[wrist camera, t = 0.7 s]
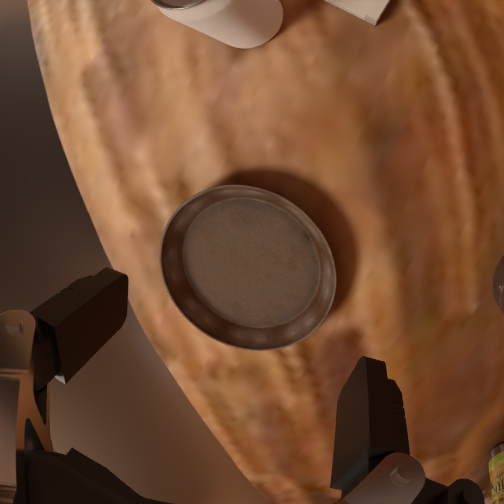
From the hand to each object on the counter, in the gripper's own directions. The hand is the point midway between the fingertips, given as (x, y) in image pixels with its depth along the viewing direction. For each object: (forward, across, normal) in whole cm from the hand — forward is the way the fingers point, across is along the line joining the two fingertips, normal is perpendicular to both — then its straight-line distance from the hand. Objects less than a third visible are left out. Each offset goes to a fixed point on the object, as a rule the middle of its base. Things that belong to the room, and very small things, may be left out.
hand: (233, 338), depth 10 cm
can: (+20, +8, -16) cm, 27 cm away
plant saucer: (+22, +3, +8) cm, 23 cm away
